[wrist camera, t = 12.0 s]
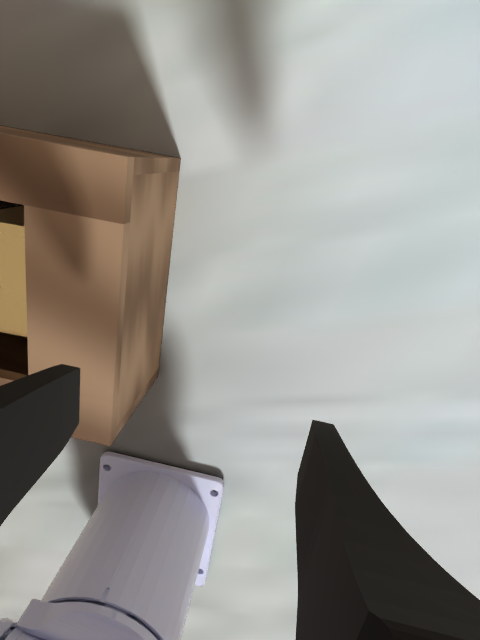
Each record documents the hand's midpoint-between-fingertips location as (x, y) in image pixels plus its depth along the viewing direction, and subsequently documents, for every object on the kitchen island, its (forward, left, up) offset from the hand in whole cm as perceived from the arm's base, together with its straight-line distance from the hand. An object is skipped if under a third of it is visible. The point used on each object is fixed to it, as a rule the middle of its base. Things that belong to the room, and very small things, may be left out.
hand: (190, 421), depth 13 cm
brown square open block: (+1, +10, -10) cm, 14 cm away
